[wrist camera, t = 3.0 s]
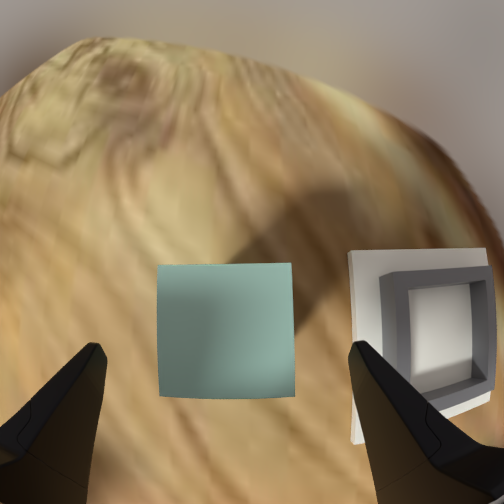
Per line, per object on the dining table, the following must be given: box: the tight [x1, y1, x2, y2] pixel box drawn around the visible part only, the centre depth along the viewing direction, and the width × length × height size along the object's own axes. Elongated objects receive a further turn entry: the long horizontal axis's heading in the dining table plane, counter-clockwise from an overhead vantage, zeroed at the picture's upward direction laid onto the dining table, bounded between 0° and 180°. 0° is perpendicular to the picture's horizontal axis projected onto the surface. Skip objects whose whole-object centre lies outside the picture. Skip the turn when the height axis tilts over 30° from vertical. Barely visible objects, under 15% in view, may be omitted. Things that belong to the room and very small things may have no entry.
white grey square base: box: [347, 248, 497, 445], centre depth 16 cm, size 13×13×3 cm
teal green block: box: [157, 263, 295, 399], centre depth 13 cm, size 4×4×9 cm
